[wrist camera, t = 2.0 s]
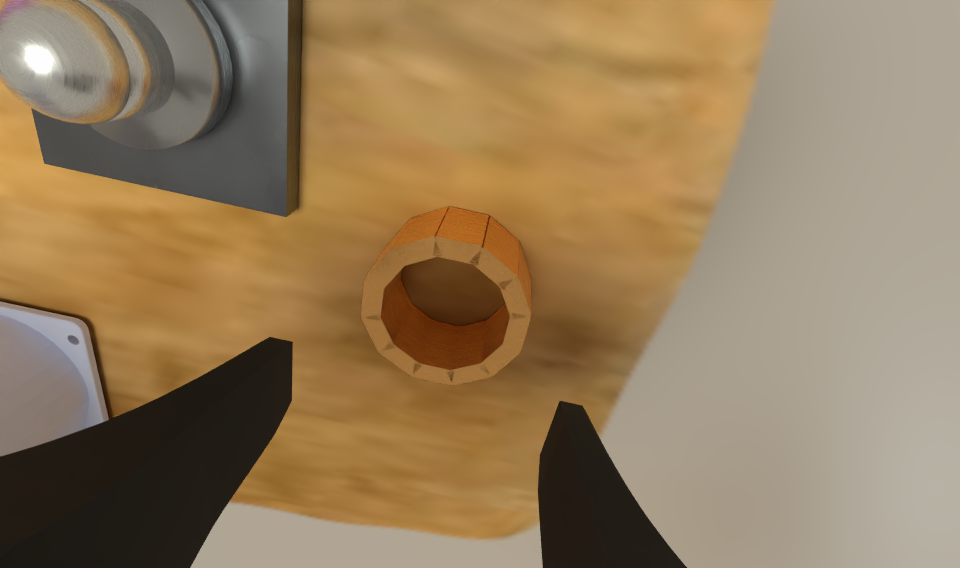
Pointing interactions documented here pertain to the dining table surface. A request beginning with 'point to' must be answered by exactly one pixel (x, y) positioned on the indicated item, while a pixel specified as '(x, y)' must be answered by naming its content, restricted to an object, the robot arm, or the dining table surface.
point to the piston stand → (164, 92)
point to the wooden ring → (441, 345)
